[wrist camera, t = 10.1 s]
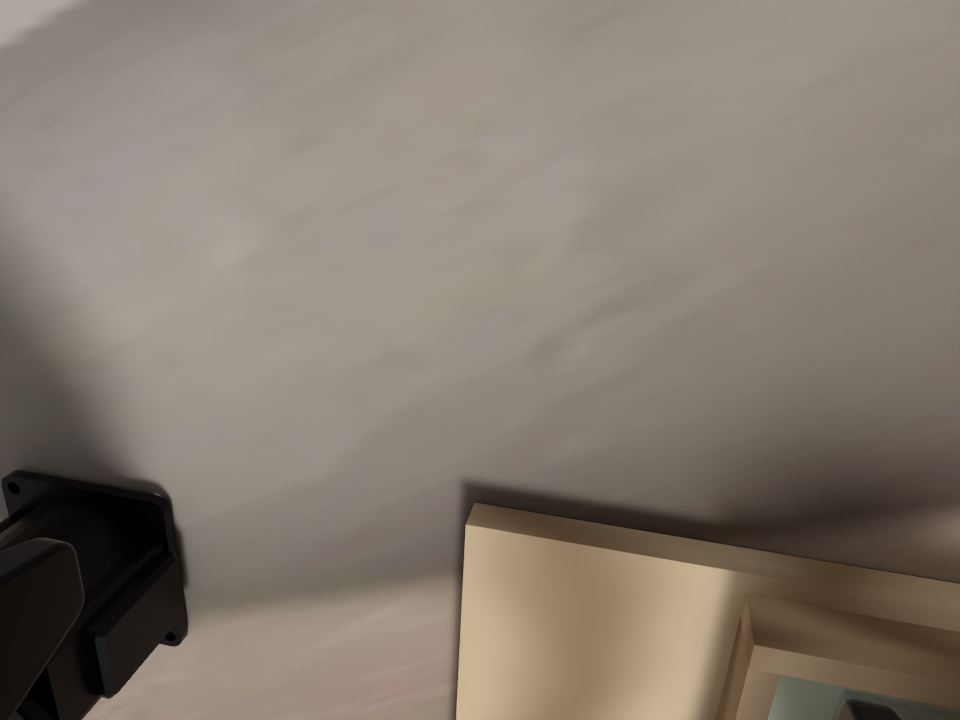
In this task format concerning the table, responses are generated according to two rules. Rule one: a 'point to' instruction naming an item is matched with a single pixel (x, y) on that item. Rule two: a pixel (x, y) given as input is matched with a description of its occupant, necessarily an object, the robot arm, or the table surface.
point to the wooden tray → (686, 628)
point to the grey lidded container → (896, 708)
